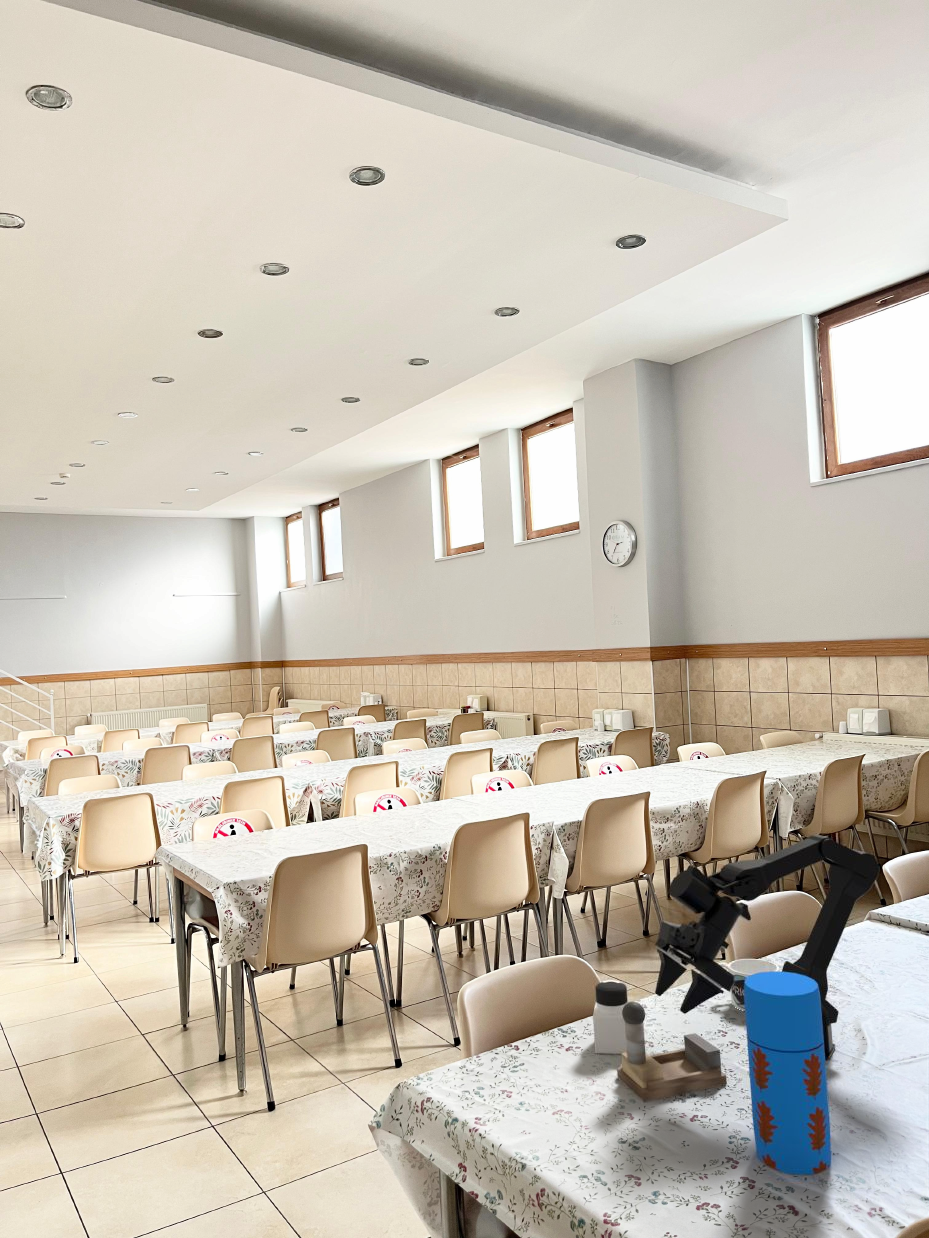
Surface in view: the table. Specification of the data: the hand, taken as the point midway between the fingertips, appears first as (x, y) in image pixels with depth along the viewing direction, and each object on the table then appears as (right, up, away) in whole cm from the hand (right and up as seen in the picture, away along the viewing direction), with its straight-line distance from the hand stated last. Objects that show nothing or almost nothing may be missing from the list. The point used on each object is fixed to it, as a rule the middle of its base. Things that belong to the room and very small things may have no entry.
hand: (669, 1003), depth 161 cm
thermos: (+12, -11, -28) cm, 32 cm away
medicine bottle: (-7, -14, +14) cm, 21 cm away
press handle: (-6, -11, -4) cm, 13 cm away
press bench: (-1, -13, -2) cm, 13 cm away
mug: (+24, -14, +31) cm, 42 cm away
